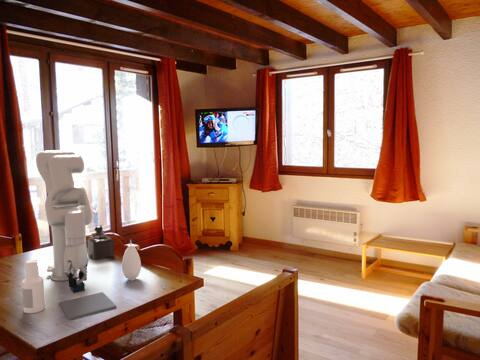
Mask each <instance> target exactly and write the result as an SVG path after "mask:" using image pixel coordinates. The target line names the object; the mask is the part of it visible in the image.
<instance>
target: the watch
mask: <svg viewBox="0 0 480 360" xmlns="http://www.w3.org/2000/svg"><path fill="white" fill-rule="evenodd" d="M80 270H81V271H82V272H83V273H84V276H83V278H82V279H81V280H79V279H77V287H69V288H70V291H71V292H72V293H73V294H77V293H81V292H85V291H86V285H85V281H84V280H85V278H86V276H87V277H88V269H87V270H86V269H85V268H84V267H83V265H82V266H81V268H80ZM66 276H67V275H66Z"/></svg>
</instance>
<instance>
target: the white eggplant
mask: <svg viewBox="0 0 480 360" xmlns="http://www.w3.org/2000/svg"><path fill="white" fill-rule="evenodd" d="M141 268H142V262H141V257H140V255H139V253H138V250H137V248H136V247H135V245H134V244H132V239H130V240H129V244H128V245H127V248H126V249H125V251H124V254H123V256H122V262H121V269H122V273H123V276H124V277H125V278H126V279H127V280H128V281H134V280H135V279H137V278H138V277H139V275H140V273H141V271H142V270H141Z"/></svg>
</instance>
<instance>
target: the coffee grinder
mask: <svg viewBox="0 0 480 360" xmlns="http://www.w3.org/2000/svg"><path fill="white" fill-rule="evenodd" d="M94 231H95V235H93V237H89V238H87V256H88V257H89V258H90V259H93V260H95V261H96V260H103V259H109V258H113V257H114V256H115V249H114V248H115V244H114V243H115V239H114V238H112V237H110V236H108V235H105V231H104V229H103V226H102V225H101V224H100V225H97V226H95V227H94Z"/></svg>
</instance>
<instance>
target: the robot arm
mask: <svg viewBox="0 0 480 360" xmlns="http://www.w3.org/2000/svg"><path fill="white" fill-rule="evenodd" d="M35 162H36V163H35V164H36V167H37V171H38V173H39V175H40V177H41V178H42V180H43V181H44V184H45V187H46V188H45V189H46V193H47V196H46V198H45V203H44V210H45V215H46V220H47V224H48V225H49V226H50V227H51V235H52V248H53V249H52V250H53V251H52V253H53V254H52V255H53V265H49V266H48V267H47V269H46V272H48V273H49V272H50V273H51V274H50V279H51V280H53V281H58V282H62V281H63V282H64V281H68V282H67V283H68V287H69V288H70V287H77V280H81V279H82V278H83V276H84V273H83V272H82V271H81V270H80V268H81V266H82V265H83V267H84V268H85V269H86V270H87V271H88V265H89V258H88V257H89V256H88V246H87V239H86V238H87V235H86V233H87V232H86V226H87V225H90V224H91V223H92V220H93V213H92V208H91V205H90V202H89V197H88V195H87V191H86V189H85V187H83V186H82V185H77V184H75V182H74V178H73V174H81V173H83V172H84V171H85V163H84V160H83V157H82V156H81V155H80V154H79V153H78V152H77V151H76V150H72V149H59V150H58V149H56V150H55V149H53V150H52V149H51V150H49V149H48V150H44V151H39V153H38V154H36V158H35ZM66 275H67V276H66ZM87 277H88V275H87V276H86V278H85V280H84V281H83V282H86V281H87V279H88V278H87ZM77 278H78V279H77Z"/></svg>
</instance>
